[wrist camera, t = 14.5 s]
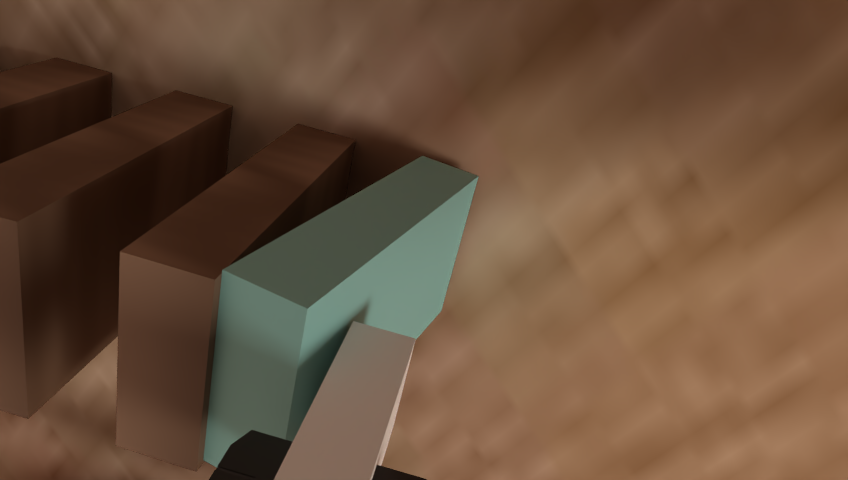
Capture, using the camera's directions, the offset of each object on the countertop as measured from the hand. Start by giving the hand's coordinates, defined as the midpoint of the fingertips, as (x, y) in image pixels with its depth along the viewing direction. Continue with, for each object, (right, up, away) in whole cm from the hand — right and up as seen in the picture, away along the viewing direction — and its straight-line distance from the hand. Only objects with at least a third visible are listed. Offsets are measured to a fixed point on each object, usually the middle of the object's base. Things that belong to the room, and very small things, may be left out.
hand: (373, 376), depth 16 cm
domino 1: (-3, +5, +7) cm, 9 cm away
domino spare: (+1, +3, +7) cm, 8 cm away
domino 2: (-7, +6, +8) cm, 12 cm away
